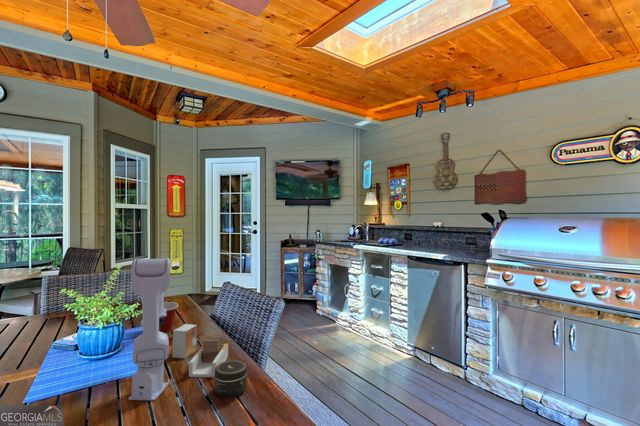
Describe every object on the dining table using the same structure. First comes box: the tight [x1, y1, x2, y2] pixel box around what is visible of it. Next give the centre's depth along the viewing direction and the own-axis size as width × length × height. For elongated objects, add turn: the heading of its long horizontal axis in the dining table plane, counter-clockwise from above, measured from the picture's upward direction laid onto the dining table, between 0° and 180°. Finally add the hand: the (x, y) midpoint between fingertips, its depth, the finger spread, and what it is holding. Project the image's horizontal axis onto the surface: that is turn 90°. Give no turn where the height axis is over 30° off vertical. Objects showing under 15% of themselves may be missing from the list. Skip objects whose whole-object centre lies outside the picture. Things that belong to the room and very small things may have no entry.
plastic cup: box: [160, 301, 179, 333], centre depth 155 cm, size 11×11×12 cm
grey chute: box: [188, 343, 229, 378], centre depth 120 cm, size 16×9×5 cm, turn 1°
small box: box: [171, 323, 198, 359], centre depth 130 cm, size 8×6×10 cm
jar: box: [213, 359, 248, 399], centre depth 104 cm, size 10×10×8 cm
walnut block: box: [202, 335, 223, 362], centre depth 123 cm, size 5×6×8 cm
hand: (153, 339), depth 117 cm, fingers closed
